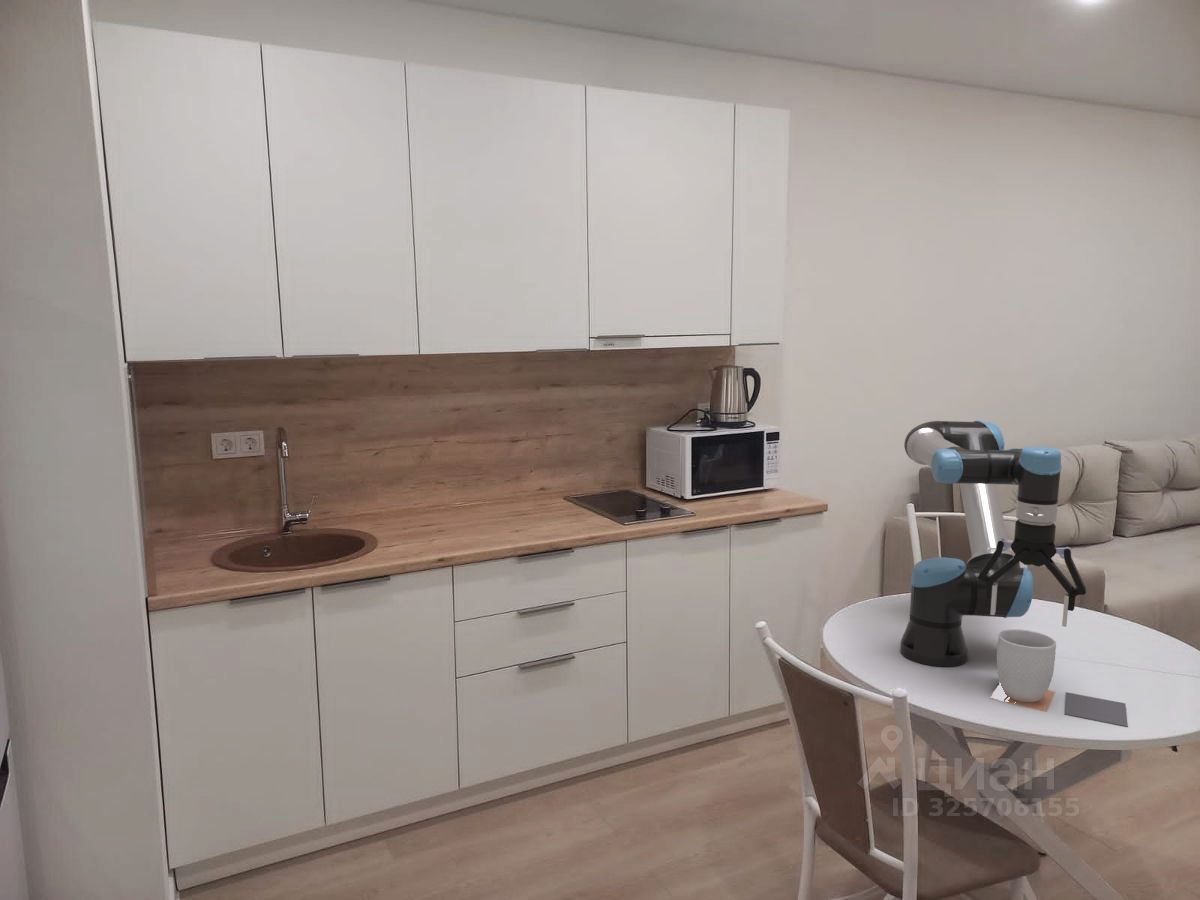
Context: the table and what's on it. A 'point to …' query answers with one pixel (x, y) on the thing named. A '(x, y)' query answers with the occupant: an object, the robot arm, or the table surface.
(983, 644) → the table surface
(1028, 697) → the mug
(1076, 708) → the charcoal mat
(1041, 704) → the terracotta tile
